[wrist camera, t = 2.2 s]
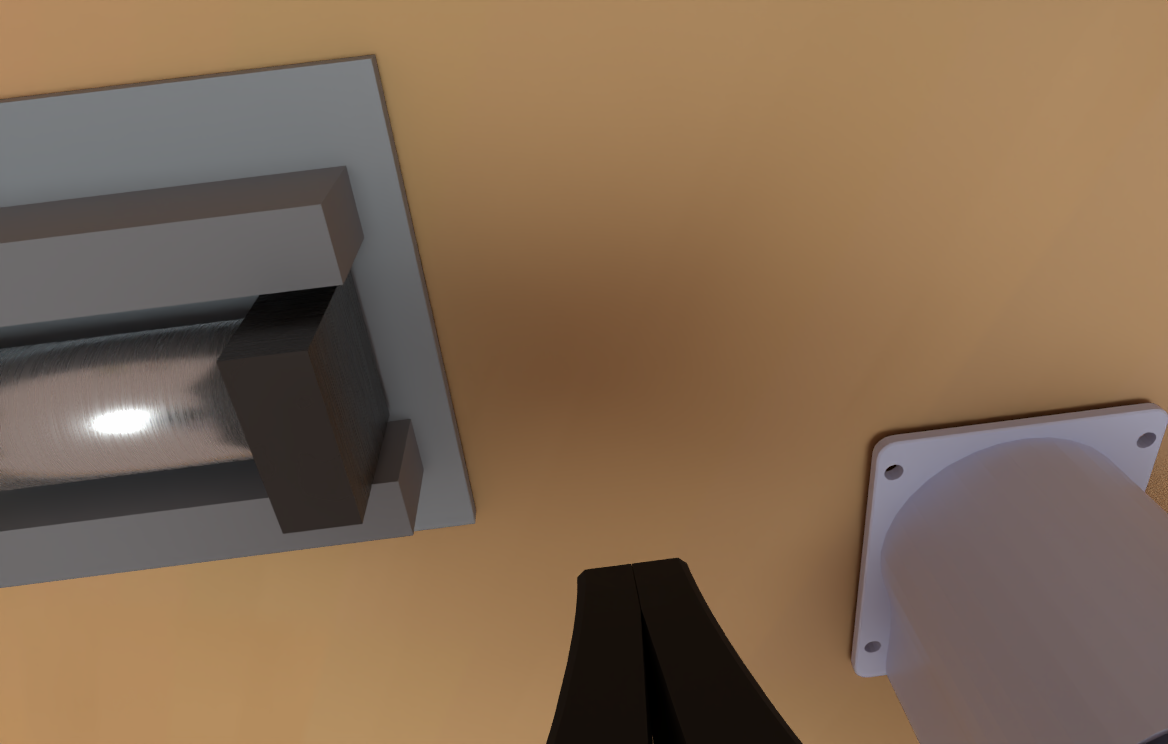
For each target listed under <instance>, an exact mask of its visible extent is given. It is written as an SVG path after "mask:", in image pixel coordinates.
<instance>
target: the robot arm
mask: <svg viewBox="0 0 1168 744" xmlns="http://www.w3.org/2000/svg"><path fill="white" fill-rule="evenodd" d="M1167 423H1168V414H1167V412H1166V411H1164V410H1163V409H1162V408H1161V407H1159V406H1158V405H1156V404H1154V403H1143V404H1135V405H1127V406H1119V407H1111V408H1103V409H1095V410H1087V411H1080V412H1072V413H1064V414H1056V415H1048V416H1040V417H1032V418H1024V419H1017V420H1009V421H1001V422H993V423H985V424H977V425H969V426H961V427H954V428H946V429H938V430H930V431H922V432H914V433H906V434H898V435H891V436H888V437H885V438H883V439H882V440H880V441H879V442H878V443H877V444H876V445H875V447H874V449H873V452H872V462H871V472H870V482H869V491H868V501H867V511H866V520H865V530H864V540H863V550H862V559H861V569H860V579H859V589H858V598H857V608H856V618H855V627H854V637H853V647H852V657H851V663H852V666H853V669H854V671H855V673H856V674H857V675H859V676H862V677H874V676H881V675H887V676H888V678H889V680H890V682H891V685H892V687H893V689H894V691H895V693H896V695H897V697H898V699H899V701H900V703H901V705H902V707H903V710H904V712H905V714H906V716H907V718H908V720H909V722H910V724H911V726H912V728H913V730H914V732H915V734H916V737H917V739H918V741H919V743H920V744H1168V513H1166V512H1165V511H1164V510H1163V509H1162V508H1161V507H1160V506H1159V505H1158V504H1157V503H1156V502H1155V501H1154V500H1153V499H1152V498H1150V497H1149V496H1148V495H1147V494H1146V493H1145V490H1146V487H1147V484H1148V481H1149V478H1150V475H1151V472H1152V469H1153V466H1154V463H1155V460H1156V457H1157V454H1158V451H1159V448H1160V445H1161V442H1162V439H1163V436H1164V433H1165V429H1166V426H1167ZM1143 434H1144V435H1143ZM1142 435H1143V436H1142ZM1140 436H1142V437H1140ZM1139 437H1140V438H1139ZM892 465H896V467H895V468H894V469H892V470H890V471H886V469H887V468H888V467H890V466H892ZM652 737H653V739H652ZM546 744H802V742H801V741H800V740H799V739H798V737H797V736H796V735H795V733H794V732H793V731H792V730H791V728H790V727H789V726H788V724H787V723H786V722H785V720H784V719H783V718H782V716H781V715H780V714H779V712H778V711H777V710H776V708H775V707H774V706H773V704H772V703H771V702H770V700H769V699H768V697H767V696H766V694H765V693H764V692H763V690H762V689H761V687H760V686H759V684H758V683H757V682H756V680H755V679H754V677H753V676H752V674H751V673H750V671H749V670H748V669H747V667H746V666H745V664H744V663H743V661H742V660H741V658H740V657H739V655H738V654H737V652H736V651H735V649H734V648H733V646H732V645H731V643H730V642H729V640H728V638H727V637H726V635H725V633H724V632H723V630H722V629H721V627H720V625H719V624H718V622H717V620H716V619H715V617H714V615H713V614H712V612H711V610H710V608H709V607H708V605H707V603H706V601H705V600H704V598H703V596H702V594H701V592H700V590H699V588H698V586H697V584H696V582H695V580H694V578H693V576H692V574H691V572H690V570H689V567H688V565H687V563H685V562H684V561H682V560H681V559H679V558H672V559H665V560H657V561H649V562H641V563H634V564H632V565H631V564H626V565H618V566H610V567H602V568H595V569H587V570H584V571H583V572H582V573H581V574H580V575H579V576H578V577H577V604H576V614H575V622H574V629H573V635H572V640H571V646H570V651H569V656H568V662H567V666H566V670H565V674H564V678H563V683H562V687H561V691H560V695H559V699H558V703H557V707H556V712H555V715H554V719H553V723H552V726H551V730H550V733H549V736H548V739H547V743H546Z"/></svg>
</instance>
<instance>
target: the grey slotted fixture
mask: <svg viewBox="0 0 1168 744" xmlns="http://www.w3.org/2000/svg"><path fill="white" fill-rule="evenodd" d="M350 270H351V274H352V277H353V281H354V285H355V289H356V292H357V296H358V300H359V303H360V307H361V311H362V314H363V318H364V322H365V325H366V329H367V333H368V336H369V340H370V344H371V348H372V351H373V355H374V359H375V362H376V366H377V370H378V373H379V377H380V381H381V384H382V388H383V392H384V395H385V399H386V403H387V407H388V410H389V419H388V423H387V427H386V431H385V435H384V439H383V443H382V447H381V451H380V455H379V459H378V463H377V467H376V471H375V475H374V479H373V484H372V488H371V492H370V496H369V500H368V504H367V508H366V512H365V516H364V520H363V524H358V525H350V526H342V527H334V528H326V529H319V530H311V531H303V532H295V533H287V534H283V533H282V530H281V528H280V525H279V523H278V520H277V518H276V515H275V512H274V510H273V507H272V505H271V502H270V500H269V497H268V494H267V492H266V489H265V487H264V484H263V482H262V479H261V476H260V474H259V471H258V469H257V466H256V464H255V461H254V459H251V460H243V461H235V462H227V463H219V464H211V465H203V466H195V467H188V468H180V469H172V470H164V471H156V472H148V473H140V474H132V475H124V476H116V477H108V478H100V479H92V480H84V481H76V482H69V483H61V484H53V485H45V486H37V487H29V488H21V489H13V490H5V491H0V588H4V587H12V586H20V585H27V584H35V583H43V582H51V581H59V580H67V579H74V578H82V577H90V576H98V575H106V574H114V573H121V572H129V571H137V570H145V569H153V568H161V567H169V566H176V565H184V564H192V563H200V562H208V561H216V560H223V559H231V558H239V557H247V556H255V555H263V554H270V553H278V552H286V551H294V550H302V549H310V548H318V547H325V546H333V545H341V544H349V543H357V542H365V541H372V540H380V539H388V538H396V537H404V536H412V535H413V534H414V531H420V530H427V529H435V528H443V527H451V526H459V525H467V524H475V520H476V509H475V504H474V500H473V495H472V491H471V486H470V482H469V477H468V473H467V468H466V464H465V459H464V455H463V450H462V446H461V441H460V437H459V432H458V428H457V423H456V419H455V414H454V410H453V405H452V401H451V396H450V391H449V387H448V382H447V378H446V373H445V369H444V364H443V360H442V355H441V351H440V346H439V342H438V337H437V333H436V328H435V324H434V319H433V315H432V310H431V306H430V301H429V297H428V292H427V288H426V283H425V279H424V274H423V269H422V265H421V260H420V256H419V251H418V247H417V242H416V238H415V233H414V229H413V224H412V220H411V215H410V211H409V206H408V202H407V197H406V193H405V188H404V184H403V179H402V175H401V170H400V166H399V161H398V156H397V152H396V147H395V143H394V138H393V134H392V129H391V125H390V120H389V116H388V111H387V107H386V102H385V98H384V93H383V89H382V84H381V80H380V75H379V71H378V66H377V62H376V57H375V55H366V56H358V57H350V58H341V59H333V60H325V61H316V62H308V63H300V64H291V65H283V66H275V67H266V68H258V69H250V70H241V71H233V72H225V73H216V74H208V75H200V76H191V77H183V78H175V79H166V80H158V81H150V82H141V83H133V84H125V85H116V86H108V87H100V88H91V89H83V90H75V91H66V92H58V93H50V94H41V95H33V96H25V97H16V98H8V99H0V349H3V348H11V347H20V346H28V345H36V344H44V343H52V342H60V341H68V340H76V339H84V338H92V337H100V336H108V335H116V334H124V333H133V332H141V331H149V330H157V329H165V328H173V327H181V326H189V325H197V324H205V323H213V322H221V321H229V320H237V319H244V318H245V317H246V315H247V313H248V312H249V310H250V309H251V307H252V306H253V304H254V303H255V301H256V300H257V298H258V297H259V295H263V294H271V293H279V292H287V291H295V290H303V289H311V288H320V287H328V286H336V285H343V284H344V282H345V280H346V277H347V275H348V273H349V271H350Z"/></svg>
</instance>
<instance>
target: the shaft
mask: <svg viewBox="0 0 1168 744" xmlns="http://www.w3.org/2000/svg"><path fill="white" fill-rule="evenodd" d="M388 419H389V410H388V407H387V403H386V399H385V395H384V392H383V388H382V384H381V381H380V377H379V373H378V370H377V366H376V362H375V359H374V355H373V351H372V348H371V344H370V340H369V336H368V333H367V329H366V325H365V322H364V318H363V314H362V311H361V307H360V303H359V300H358V296H357V292H356V289H355V285H354V281H353V277H352V274H351V270H350V271H349V273H348V275H347V277H346V280H345V282H344V284H343V285H336V286H328V287H320V288H311V289H303V290H295V291H287V292H279V293H271V294H263V295H259V297H258V298H257V300H256V301H255V303H254V304H253V306H252V307H251V309H250V310H249V312H248V313H247V315H246V317H245V318H244V319H237V320H229V321H221V322H213V323H205V324H197V325H189V326H181V327H173V328H165V329H157V330H149V331H141V332H133V333H124V334H116V335H108V336H100V337H92V338H84V339H76V340H68V341H60V342H52V343H44V344H36V345H28V346H20V347H11V348H3V349H0V491H5V490H13V489H21V488H29V487H37V486H45V485H53V484H61V483H69V482H76V481H84V480H92V479H100V478H108V477H116V476H124V475H132V474H140V473H148V472H156V471H164V470H172V469H180V468H188V467H195V466H203V465H211V464H219V463H227V462H235V461H243V460H251V459H254V461H255V464H256V466H257V469H258V471H259V474H260V476H261V479H262V482H263V484H264V487H265V489H266V492H267V494H268V497H269V500H270V502H271V505H272V507H273V510H274V512H275V515H276V518H277V520H278V523H279V525H280V528H281V530H282V533H283V534H287V533H295V532H303V531H311V530H319V529H326V528H334V527H342V526H350V525H358V524H363V520H364V516H365V512H366V508H367V504H368V500H369V496H370V492H371V488H372V484H373V479H374V475H375V471H376V467H377V463H378V459H379V455H380V451H381V447H382V443H383V439H384V435H385V431H386V427H387V423H388Z"/></svg>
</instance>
